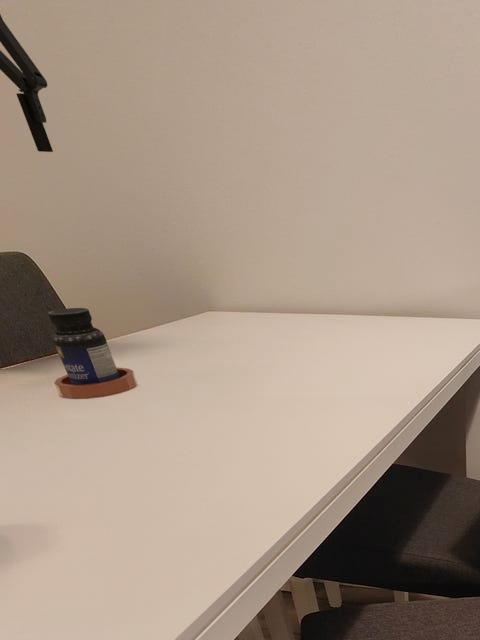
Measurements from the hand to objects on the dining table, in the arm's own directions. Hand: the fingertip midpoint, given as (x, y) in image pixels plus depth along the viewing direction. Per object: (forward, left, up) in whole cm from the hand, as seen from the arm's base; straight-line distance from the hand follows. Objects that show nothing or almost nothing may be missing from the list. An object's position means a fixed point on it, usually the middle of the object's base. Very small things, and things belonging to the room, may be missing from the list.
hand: (2, 153), depth 91 cm
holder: (+20, -31, -29) cm, 47 cm away
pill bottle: (+20, -31, -28) cm, 46 cm away
